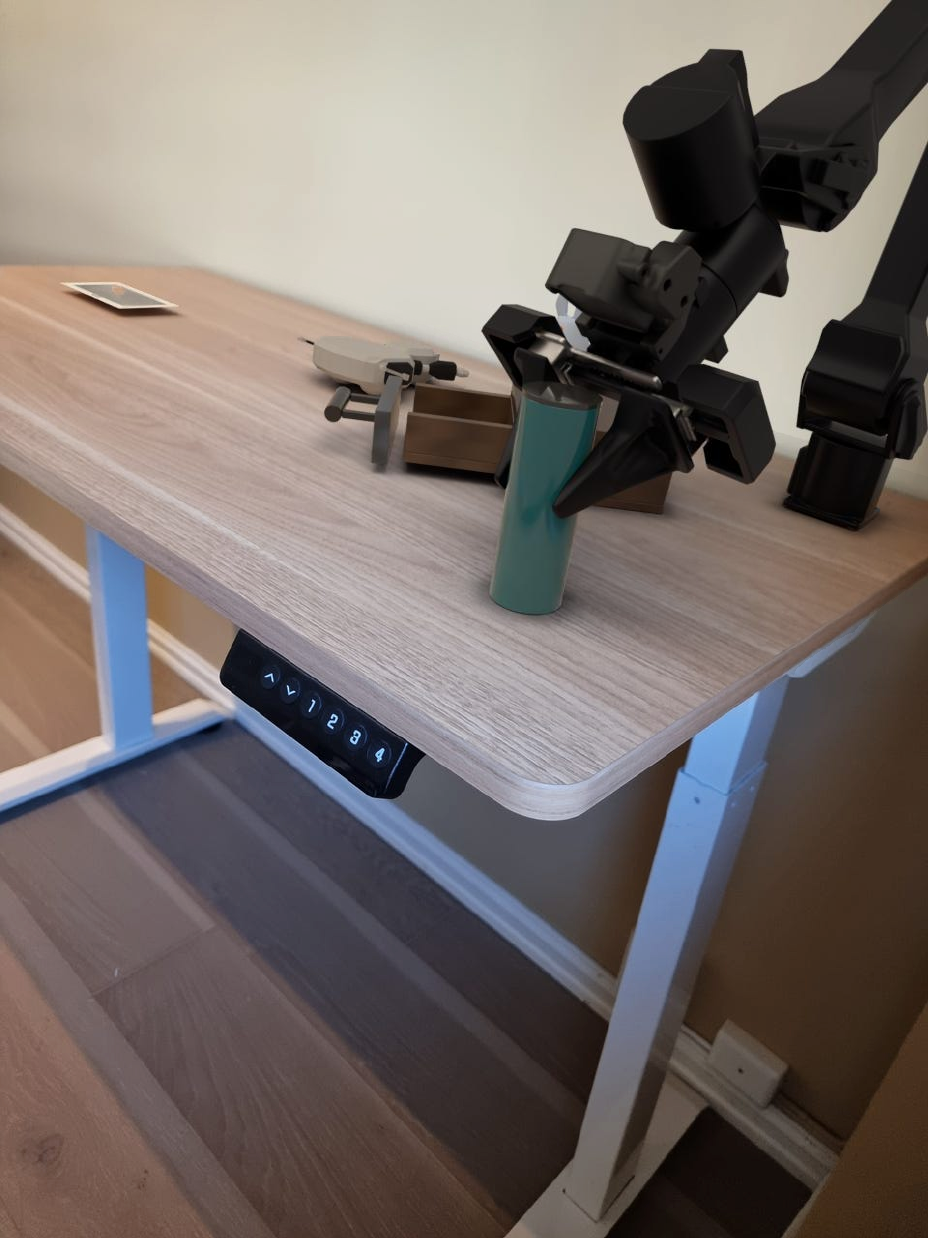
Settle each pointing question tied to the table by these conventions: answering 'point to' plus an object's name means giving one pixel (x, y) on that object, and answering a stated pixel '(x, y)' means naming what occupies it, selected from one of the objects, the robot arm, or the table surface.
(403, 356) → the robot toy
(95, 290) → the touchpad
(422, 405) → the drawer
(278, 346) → the table surface
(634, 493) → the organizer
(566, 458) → the lidded cylindrical canister
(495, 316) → the robot arm
